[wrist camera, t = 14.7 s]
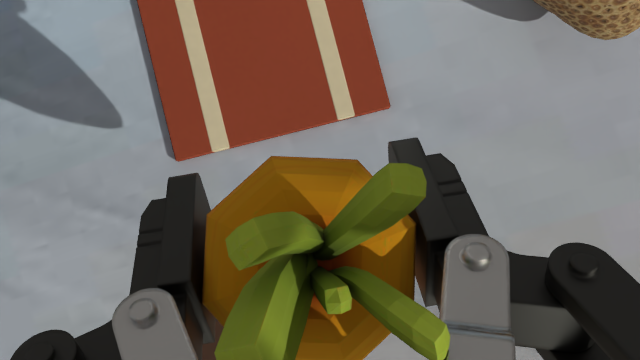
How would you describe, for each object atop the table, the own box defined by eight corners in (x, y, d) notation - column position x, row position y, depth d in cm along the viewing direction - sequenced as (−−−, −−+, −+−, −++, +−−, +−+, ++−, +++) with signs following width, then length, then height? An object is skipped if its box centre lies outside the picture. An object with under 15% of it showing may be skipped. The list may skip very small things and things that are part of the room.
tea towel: (389, 108, 32) (390, 106, 32) (177, 161, 32) (175, 161, 31) (344, -62, 33) (344, -67, 32) (135, -12, 33) (132, -16, 32)
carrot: (347, 163, 23) (417, 52, 8) (391, 282, 23) (549, 398, 8) (228, 207, 23) (73, 176, 8) (271, 328, 22) (195, 536, 8)
